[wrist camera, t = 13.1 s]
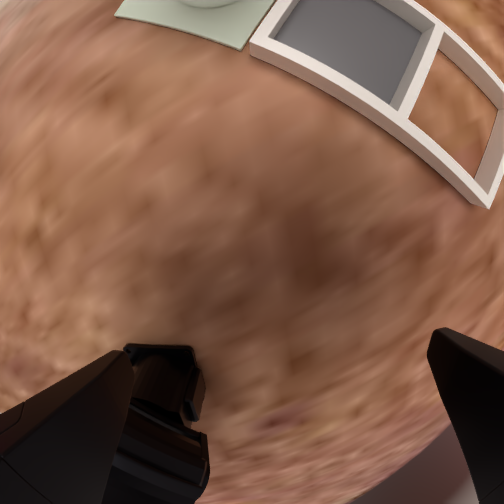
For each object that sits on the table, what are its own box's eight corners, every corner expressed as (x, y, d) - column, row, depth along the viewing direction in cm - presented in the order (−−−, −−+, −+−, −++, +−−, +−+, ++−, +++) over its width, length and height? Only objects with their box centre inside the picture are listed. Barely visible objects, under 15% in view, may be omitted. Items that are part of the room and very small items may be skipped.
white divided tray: (504, 109, 15) (522, 108, 13) (470, 203, 18) (489, 209, 16) (185, -66, 11) (179, -81, 9) (116, 17, 14) (102, 5, 12)
